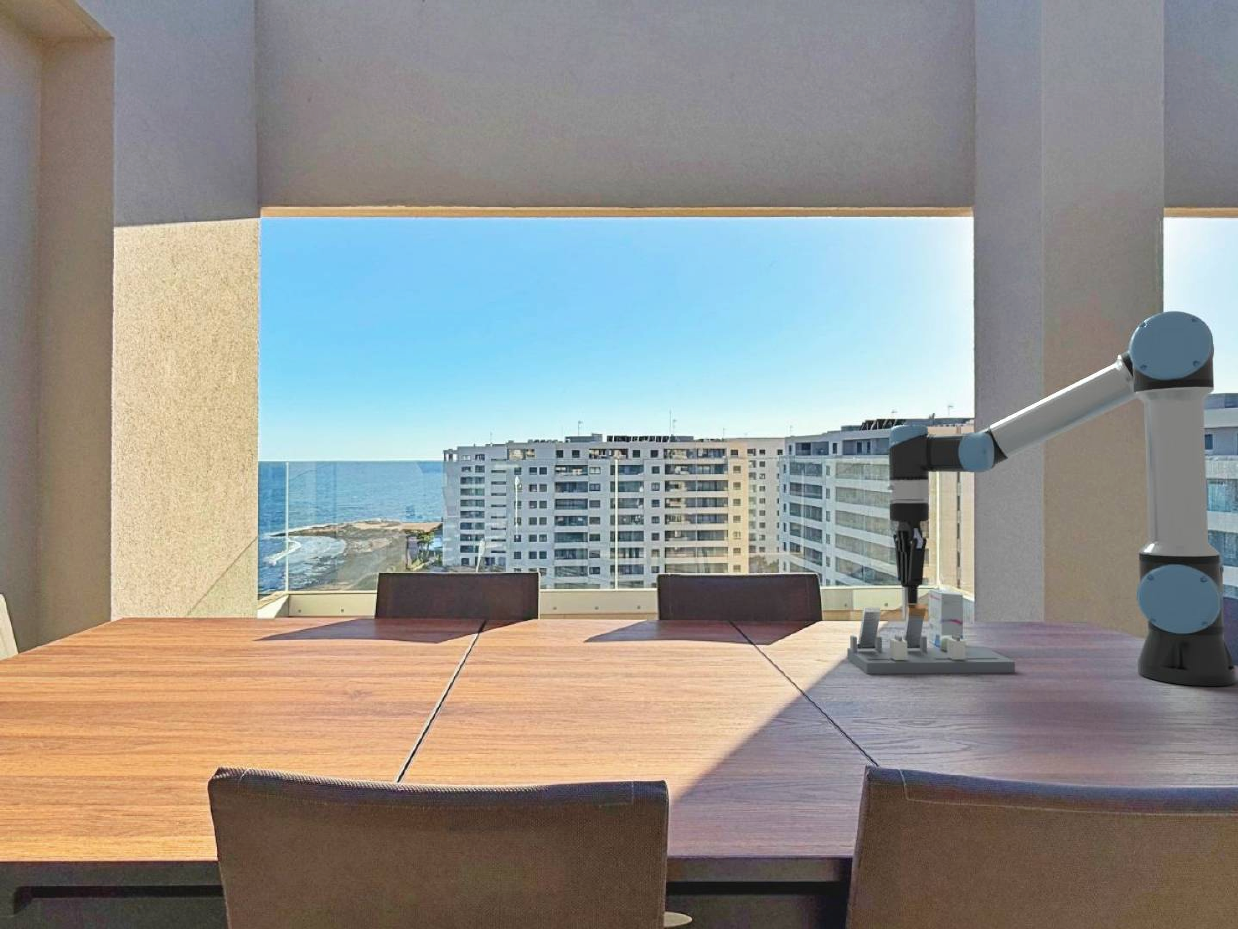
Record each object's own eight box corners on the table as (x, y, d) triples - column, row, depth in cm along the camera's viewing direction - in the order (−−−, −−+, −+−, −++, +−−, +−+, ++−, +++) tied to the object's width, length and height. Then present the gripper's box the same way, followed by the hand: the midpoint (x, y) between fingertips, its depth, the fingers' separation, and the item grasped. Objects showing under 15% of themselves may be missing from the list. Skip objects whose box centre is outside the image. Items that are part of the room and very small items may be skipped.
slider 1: (902, 656, 169) (902, 635, 169) (907, 660, 166) (907, 638, 166) (889, 656, 169) (889, 635, 169) (894, 660, 166) (894, 638, 166)
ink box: (964, 648, 187) (963, 593, 188) (941, 648, 188) (940, 593, 188) (950, 641, 196) (949, 588, 196) (927, 641, 196) (927, 588, 196)
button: (956, 647, 178) (956, 635, 178) (964, 651, 174) (964, 638, 174) (937, 647, 178) (936, 635, 178) (944, 651, 174) (944, 639, 174)
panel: (984, 656, 179) (983, 632, 179) (1015, 672, 165) (1014, 645, 165) (847, 658, 179) (847, 633, 179) (866, 673, 165) (866, 647, 165)
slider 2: (959, 656, 169) (959, 635, 169) (965, 659, 166) (965, 637, 166) (947, 656, 169) (946, 635, 169) (953, 659, 166) (952, 638, 166)
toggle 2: (917, 645, 177) (924, 604, 173) (919, 649, 175) (926, 608, 171) (900, 645, 177) (906, 604, 173) (903, 650, 175) (909, 608, 171)
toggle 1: (873, 645, 177) (879, 607, 172) (875, 650, 175) (881, 612, 171) (856, 645, 177) (862, 607, 172) (858, 650, 175) (864, 612, 171)
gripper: (880, 500, 182) (881, 613, 182) (901, 502, 169) (902, 624, 169) (916, 500, 182) (917, 613, 182) (939, 502, 169) (941, 624, 169)
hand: (910, 618), depth 176 cm, fingers closed
